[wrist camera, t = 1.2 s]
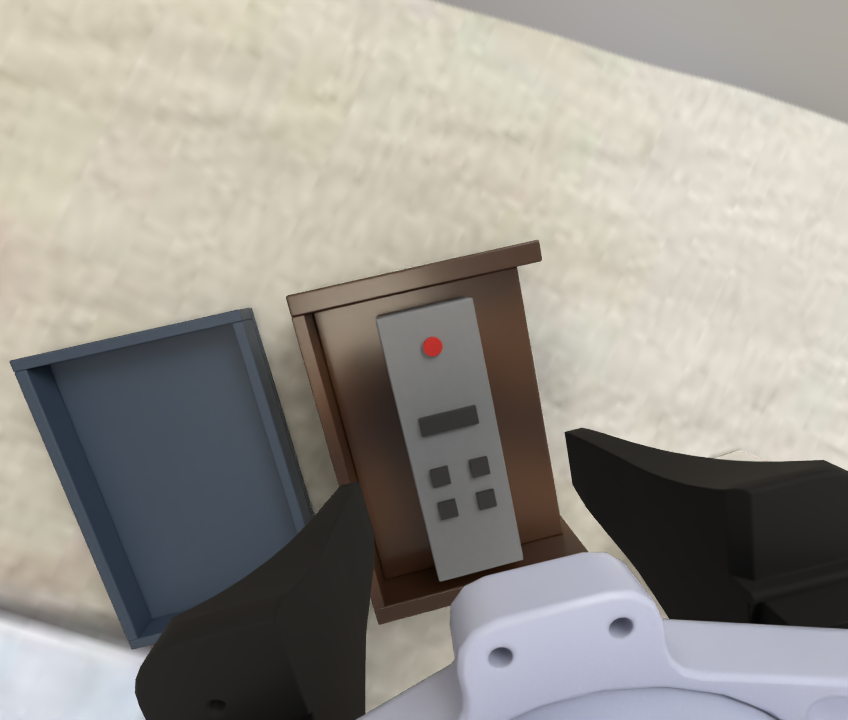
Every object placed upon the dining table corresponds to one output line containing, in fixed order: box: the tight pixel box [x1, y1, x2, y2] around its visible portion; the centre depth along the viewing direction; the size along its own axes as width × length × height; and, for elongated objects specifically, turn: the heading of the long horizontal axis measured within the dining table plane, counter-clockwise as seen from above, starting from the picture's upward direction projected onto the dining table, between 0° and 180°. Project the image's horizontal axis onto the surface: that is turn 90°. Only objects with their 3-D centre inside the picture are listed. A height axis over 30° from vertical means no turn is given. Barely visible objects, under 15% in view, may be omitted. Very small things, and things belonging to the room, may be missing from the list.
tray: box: [9, 308, 314, 649], centre depth 23 cm, size 18×12×2 cm, turn 12°
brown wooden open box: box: [286, 240, 588, 625], centre depth 23 cm, size 18×12×5 cm
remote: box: [376, 297, 523, 582], centre depth 21 cm, size 14×5×3 cm, turn 12°
